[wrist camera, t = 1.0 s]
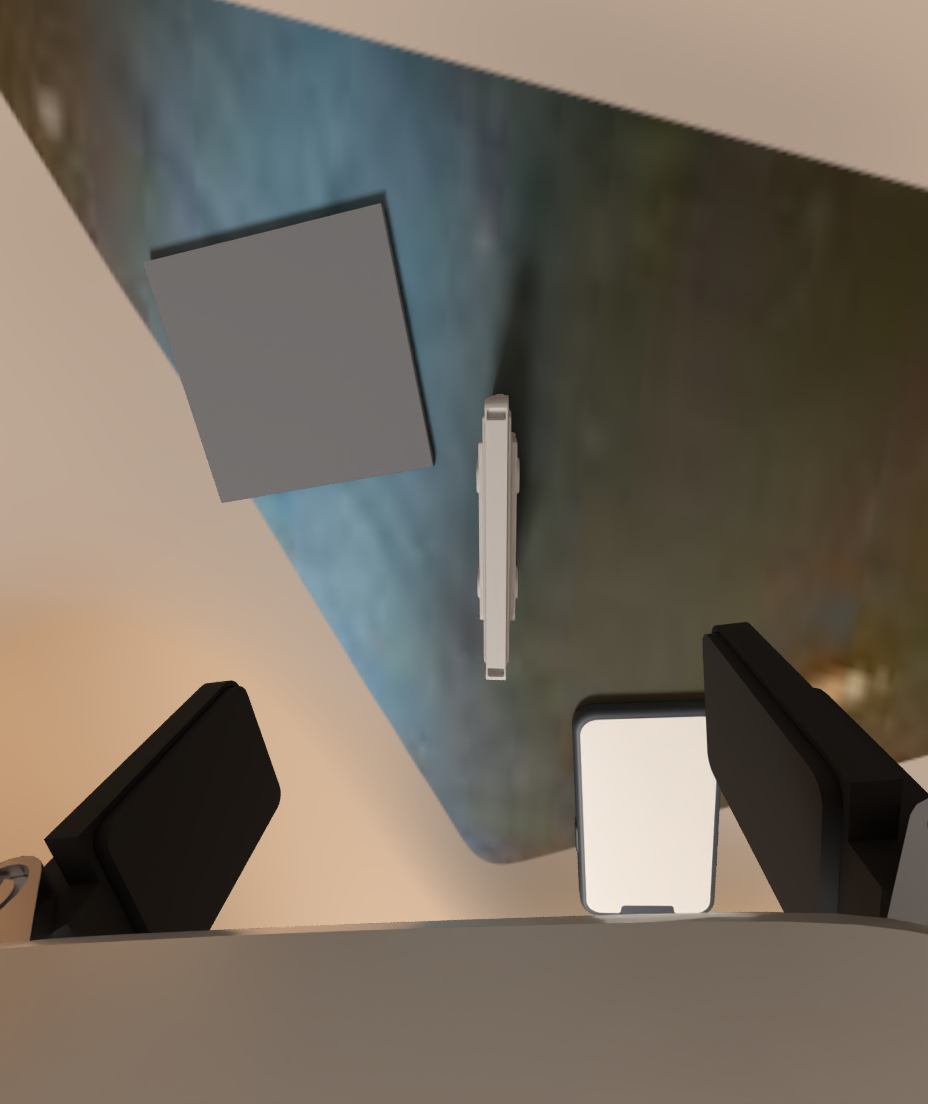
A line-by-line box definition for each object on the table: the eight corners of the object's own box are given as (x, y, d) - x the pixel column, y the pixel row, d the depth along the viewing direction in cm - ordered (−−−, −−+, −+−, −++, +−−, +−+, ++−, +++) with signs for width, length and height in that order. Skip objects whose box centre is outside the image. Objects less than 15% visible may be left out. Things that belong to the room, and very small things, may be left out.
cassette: (481, 394, 26) (470, 397, 19) (518, 393, 26) (522, 396, 18) (483, 610, 30) (474, 684, 22) (515, 611, 29) (517, 685, 22)
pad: (383, 207, 24) (380, 203, 23) (434, 464, 27) (433, 466, 26) (150, 265, 25) (142, 262, 25) (227, 500, 29) (221, 502, 28)
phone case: (568, 698, 32) (577, 895, 36) (571, 713, 30) (579, 917, 35) (717, 692, 31) (707, 896, 35) (728, 708, 29) (716, 919, 34)
